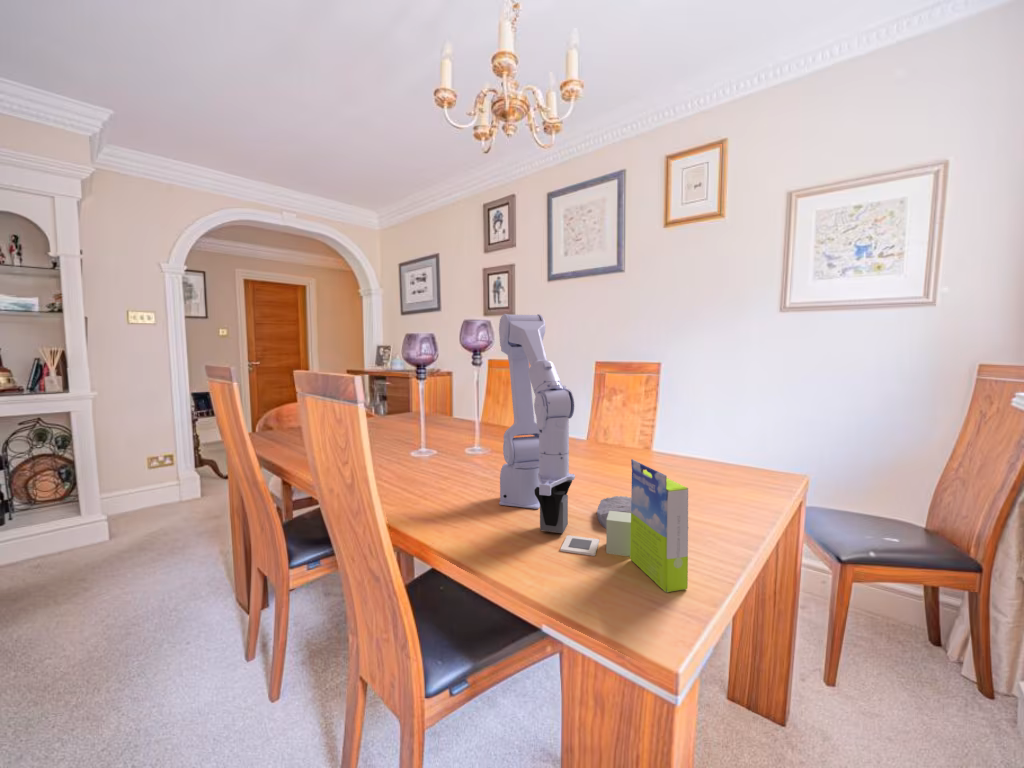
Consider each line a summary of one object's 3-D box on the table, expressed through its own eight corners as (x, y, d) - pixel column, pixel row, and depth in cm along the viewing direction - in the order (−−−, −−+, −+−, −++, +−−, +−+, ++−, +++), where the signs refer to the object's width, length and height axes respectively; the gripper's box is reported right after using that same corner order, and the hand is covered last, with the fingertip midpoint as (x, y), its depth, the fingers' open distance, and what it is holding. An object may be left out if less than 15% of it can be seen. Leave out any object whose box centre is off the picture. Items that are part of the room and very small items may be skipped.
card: (560, 551, 74) (560, 548, 74) (567, 537, 80) (567, 534, 80) (594, 556, 72) (594, 553, 72) (599, 541, 78) (599, 538, 78)
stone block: (600, 539, 84) (652, 532, 82) (595, 515, 84) (647, 508, 82) (600, 518, 95) (645, 512, 93) (596, 497, 95) (641, 491, 93)
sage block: (606, 553, 73) (606, 519, 73) (609, 542, 78) (609, 510, 77) (633, 557, 72) (633, 522, 72) (634, 545, 76) (634, 513, 76)
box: (689, 590, 62) (691, 473, 61) (664, 594, 61) (665, 475, 60) (649, 557, 72) (651, 456, 71) (627, 559, 71) (628, 458, 70)
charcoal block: (540, 530, 82) (539, 499, 81) (545, 521, 86) (545, 492, 85) (563, 533, 80) (562, 502, 80) (567, 524, 84) (567, 494, 84)
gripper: (566, 462, 74) (566, 537, 75) (580, 445, 87) (580, 509, 88) (527, 459, 76) (528, 532, 77) (547, 443, 90) (548, 505, 91)
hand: (554, 520), depth 83 cm, fingers closed on charcoal block, 4 cm apart
